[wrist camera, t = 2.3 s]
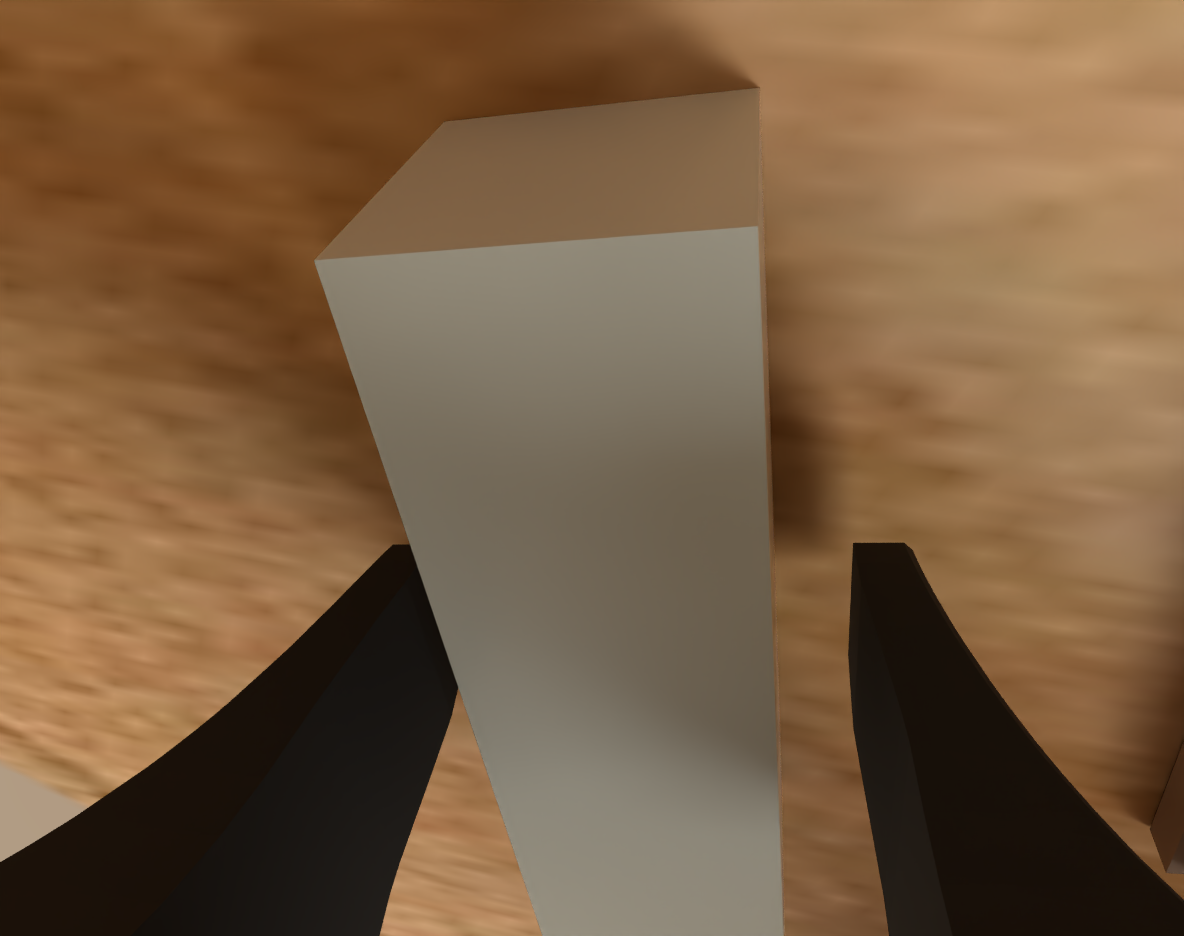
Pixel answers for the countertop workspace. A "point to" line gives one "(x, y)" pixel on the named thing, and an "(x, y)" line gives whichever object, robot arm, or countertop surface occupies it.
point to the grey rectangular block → (591, 489)
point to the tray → (1171, 821)
